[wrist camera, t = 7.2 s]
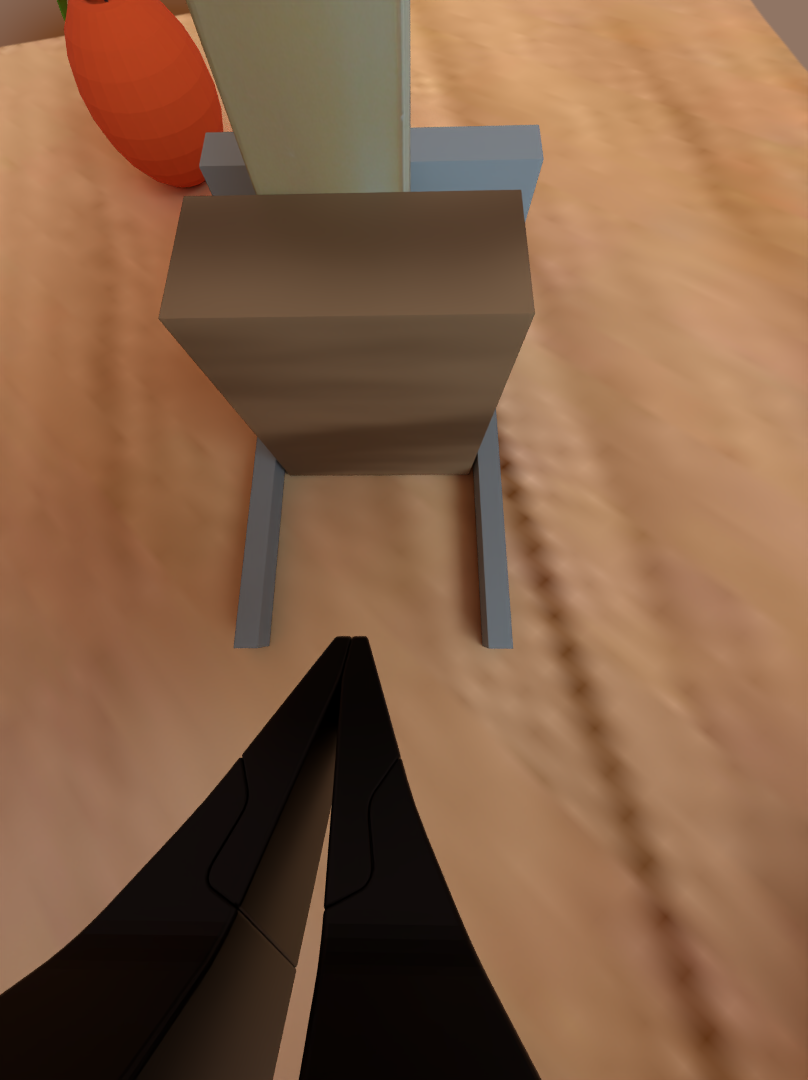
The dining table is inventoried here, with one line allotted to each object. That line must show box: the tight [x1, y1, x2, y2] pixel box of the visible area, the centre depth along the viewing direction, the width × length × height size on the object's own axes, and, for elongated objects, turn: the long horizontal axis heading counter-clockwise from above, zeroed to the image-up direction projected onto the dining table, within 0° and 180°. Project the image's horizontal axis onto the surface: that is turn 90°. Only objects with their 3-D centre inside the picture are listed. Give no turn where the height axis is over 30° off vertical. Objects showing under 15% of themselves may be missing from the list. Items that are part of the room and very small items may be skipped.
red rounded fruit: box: [57, 0, 223, 187], centre depth 18 cm, size 8×7×7 cm
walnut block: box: [158, 190, 535, 475], centre depth 13 cm, size 4×9×9 cm, turn 90°
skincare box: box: [186, 0, 411, 195], centre depth 12 cm, size 6×4×12 cm
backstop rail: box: [199, 125, 543, 649], centre depth 14 cm, size 21×14×6 cm, turn 0°
